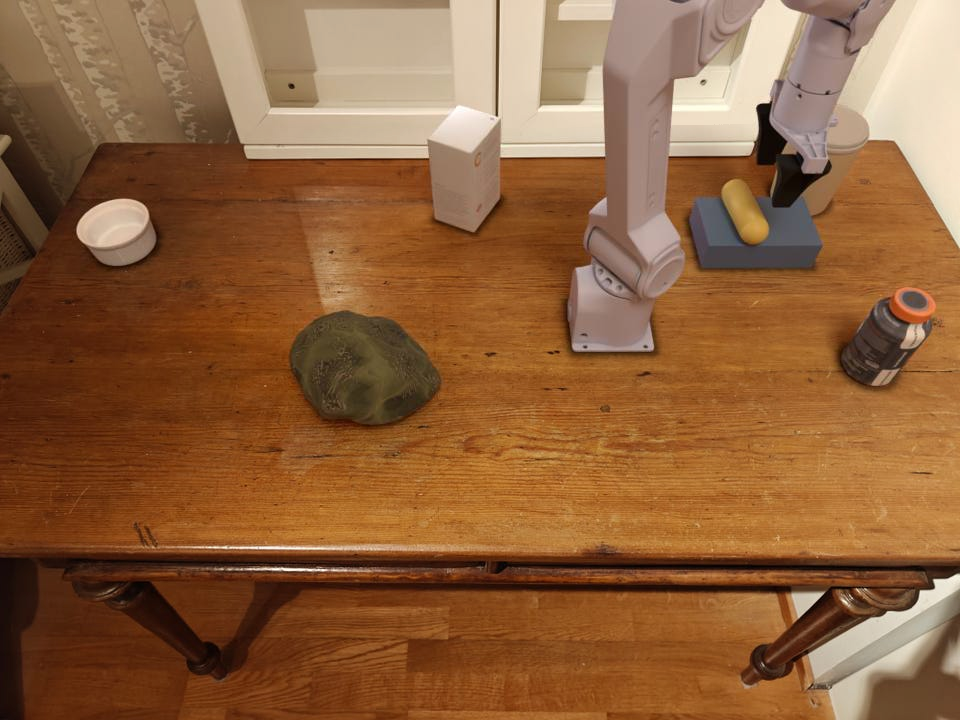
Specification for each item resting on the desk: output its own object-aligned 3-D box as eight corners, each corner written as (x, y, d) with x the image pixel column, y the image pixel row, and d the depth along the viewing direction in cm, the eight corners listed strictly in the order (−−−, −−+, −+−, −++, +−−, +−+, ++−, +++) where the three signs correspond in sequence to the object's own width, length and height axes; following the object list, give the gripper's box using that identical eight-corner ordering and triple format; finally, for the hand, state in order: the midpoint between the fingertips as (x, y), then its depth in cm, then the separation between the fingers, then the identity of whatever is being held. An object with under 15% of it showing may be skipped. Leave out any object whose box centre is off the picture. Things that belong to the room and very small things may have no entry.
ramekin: (143, 274, 89) (129, 249, 86) (78, 266, 90) (62, 242, 87) (172, 226, 95) (160, 201, 91) (110, 220, 95) (96, 195, 92)
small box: (461, 185, 99) (457, 103, 89) (501, 198, 97) (502, 116, 87) (432, 219, 95) (425, 138, 84) (474, 234, 93) (472, 153, 83)
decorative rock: (407, 324, 86) (405, 261, 79) (450, 421, 76) (453, 360, 69) (285, 351, 82) (271, 287, 74) (313, 458, 72) (301, 396, 65)
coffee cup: (841, 190, 98) (880, 115, 88) (822, 229, 93) (861, 154, 84) (776, 168, 101) (806, 92, 91) (754, 205, 96) (784, 130, 87)
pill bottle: (898, 391, 78) (952, 327, 69) (842, 383, 78) (889, 318, 69) (890, 349, 81) (941, 283, 72) (837, 342, 82) (881, 274, 73)
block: (701, 268, 89) (709, 245, 86) (688, 220, 94) (695, 197, 91) (811, 268, 89) (823, 245, 86) (792, 219, 94) (803, 196, 91)
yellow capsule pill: (779, 231, 83) (754, 228, 82) (763, 251, 86) (739, 249, 85) (749, 175, 89) (726, 172, 88) (735, 195, 92) (713, 193, 91)
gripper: (878, 121, 68) (824, 225, 79) (833, 42, 77) (790, 146, 88) (805, 121, 68) (761, 226, 79) (769, 42, 77) (733, 146, 88)
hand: (772, 184), depth 83 cm, fingers open, 7 cm apart
